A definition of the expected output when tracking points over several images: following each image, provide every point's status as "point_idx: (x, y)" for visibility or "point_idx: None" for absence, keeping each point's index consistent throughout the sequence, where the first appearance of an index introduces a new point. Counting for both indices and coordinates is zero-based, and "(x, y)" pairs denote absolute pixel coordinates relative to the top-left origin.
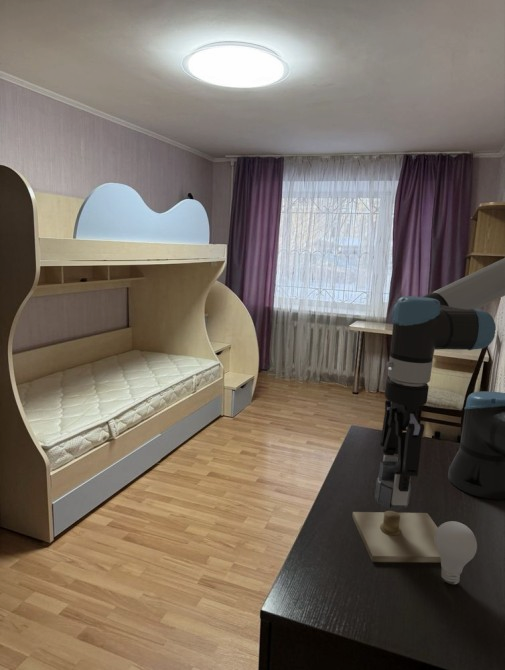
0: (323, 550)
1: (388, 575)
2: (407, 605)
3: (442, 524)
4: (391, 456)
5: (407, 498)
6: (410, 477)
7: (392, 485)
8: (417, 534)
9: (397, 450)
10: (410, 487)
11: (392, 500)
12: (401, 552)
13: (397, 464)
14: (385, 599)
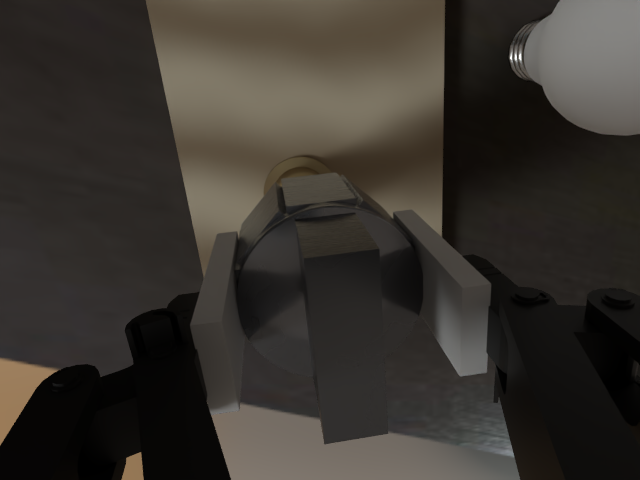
0: (389, 376)
1: (487, 229)
2: (591, 204)
3: (633, 104)
4: (227, 368)
5: (424, 222)
6: (476, 271)
7: (413, 320)
8: (319, 96)
9: (150, 336)
10: (366, 202)
11: None
12: (423, 183)
13: (360, 348)
14: (567, 252)
